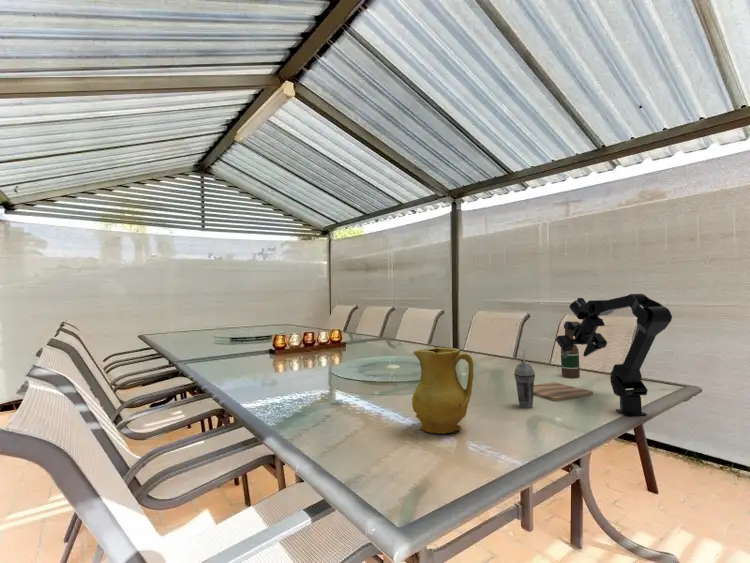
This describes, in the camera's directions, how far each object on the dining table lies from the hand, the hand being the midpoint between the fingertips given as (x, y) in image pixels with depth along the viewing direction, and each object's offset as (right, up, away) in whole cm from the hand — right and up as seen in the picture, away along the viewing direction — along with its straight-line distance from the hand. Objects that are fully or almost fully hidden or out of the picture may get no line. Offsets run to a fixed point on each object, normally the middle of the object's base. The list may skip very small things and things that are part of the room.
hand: (573, 356), depth 168 cm
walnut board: (-7, -15, +2) cm, 17 cm away
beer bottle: (+12, -15, +29) cm, 35 cm away
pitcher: (-59, -16, -37) cm, 72 cm away
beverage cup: (-25, -15, -16) cm, 34 cm away
